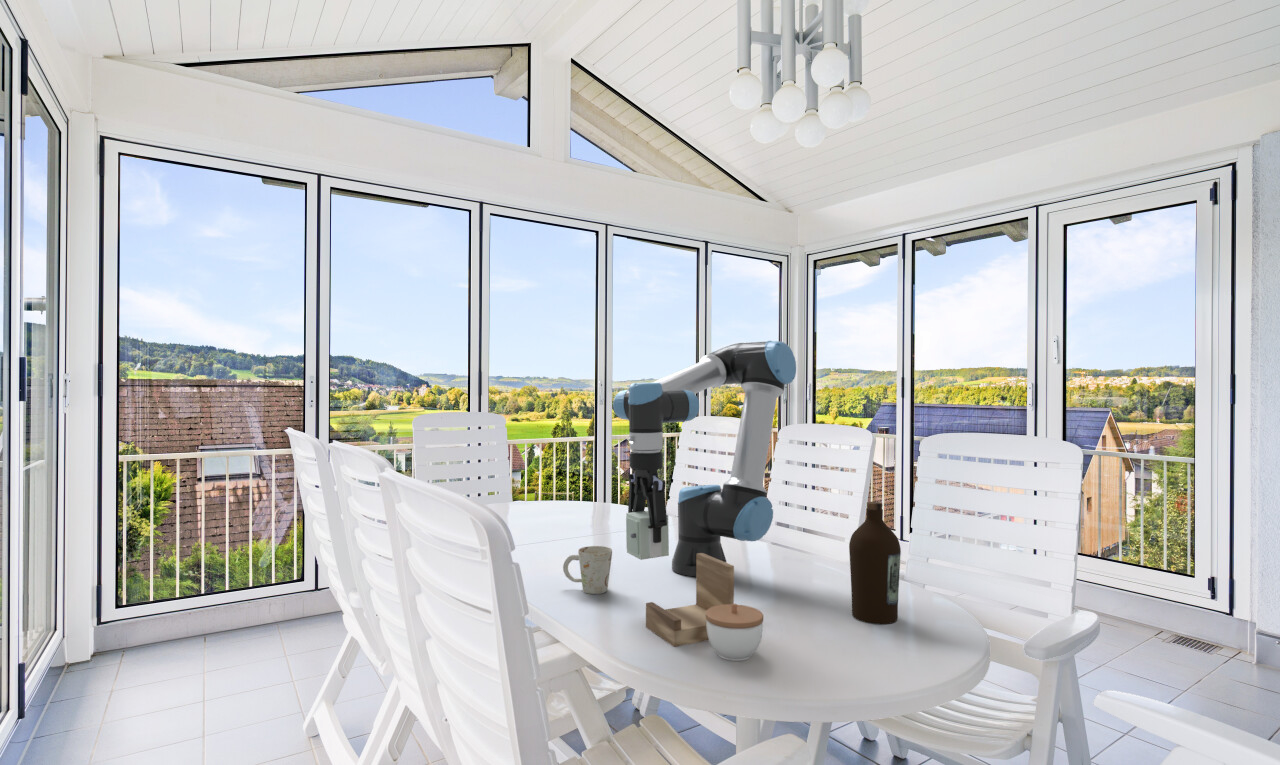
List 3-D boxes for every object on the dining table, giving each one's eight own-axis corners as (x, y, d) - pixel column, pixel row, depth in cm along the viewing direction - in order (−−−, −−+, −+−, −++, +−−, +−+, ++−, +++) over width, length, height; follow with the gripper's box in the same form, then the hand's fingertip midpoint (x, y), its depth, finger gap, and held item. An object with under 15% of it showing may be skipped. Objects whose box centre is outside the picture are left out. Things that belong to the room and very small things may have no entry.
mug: (607, 596, 160) (607, 554, 160) (557, 593, 162) (557, 552, 162) (615, 586, 168) (615, 546, 168) (567, 583, 170) (567, 544, 170)
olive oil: (842, 619, 145) (842, 503, 145) (857, 606, 153) (857, 497, 154) (893, 629, 139) (893, 508, 139) (906, 615, 147) (906, 502, 148)
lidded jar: (700, 644, 130) (701, 596, 130) (755, 643, 131) (755, 595, 131) (711, 667, 119) (711, 614, 119) (770, 665, 120) (770, 613, 120)
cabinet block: (654, 548, 155) (653, 509, 155) (668, 555, 149) (668, 515, 149) (622, 553, 151) (621, 513, 151) (635, 560, 145) (635, 519, 145)
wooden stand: (702, 617, 145) (702, 552, 146) (733, 635, 135) (733, 565, 135) (645, 627, 139) (646, 559, 139) (674, 646, 128) (674, 573, 129)
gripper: (612, 448, 157) (613, 545, 158) (651, 456, 140) (653, 565, 140) (641, 446, 161) (642, 541, 161) (682, 454, 143) (684, 561, 143)
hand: (647, 552), depth 150 cm, fingers closed on cabinet block, 7 cm apart
